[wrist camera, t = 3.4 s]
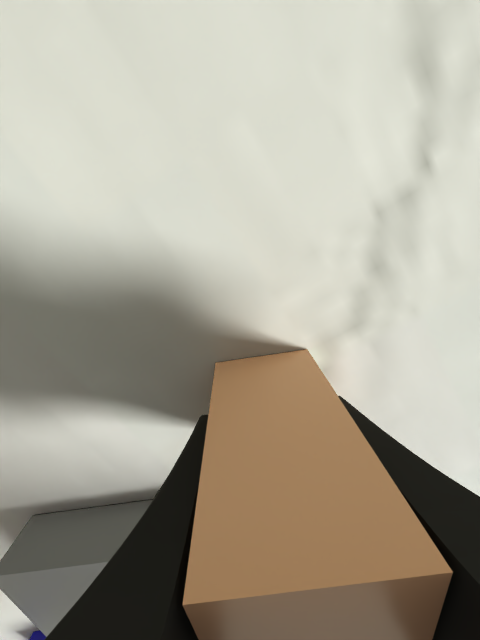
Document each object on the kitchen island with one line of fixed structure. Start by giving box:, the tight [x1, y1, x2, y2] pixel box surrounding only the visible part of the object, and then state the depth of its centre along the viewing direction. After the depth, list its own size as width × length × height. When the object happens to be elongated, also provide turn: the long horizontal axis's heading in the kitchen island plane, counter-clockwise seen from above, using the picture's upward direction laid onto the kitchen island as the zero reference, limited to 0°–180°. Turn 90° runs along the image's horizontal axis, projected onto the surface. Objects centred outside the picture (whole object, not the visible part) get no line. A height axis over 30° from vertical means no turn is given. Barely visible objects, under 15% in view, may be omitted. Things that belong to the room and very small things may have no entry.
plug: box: [183, 349, 453, 640], centre depth 7 cm, size 4×4×7 cm
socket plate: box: [0, 500, 153, 637], centre depth 14 cm, size 16×16×2 cm
